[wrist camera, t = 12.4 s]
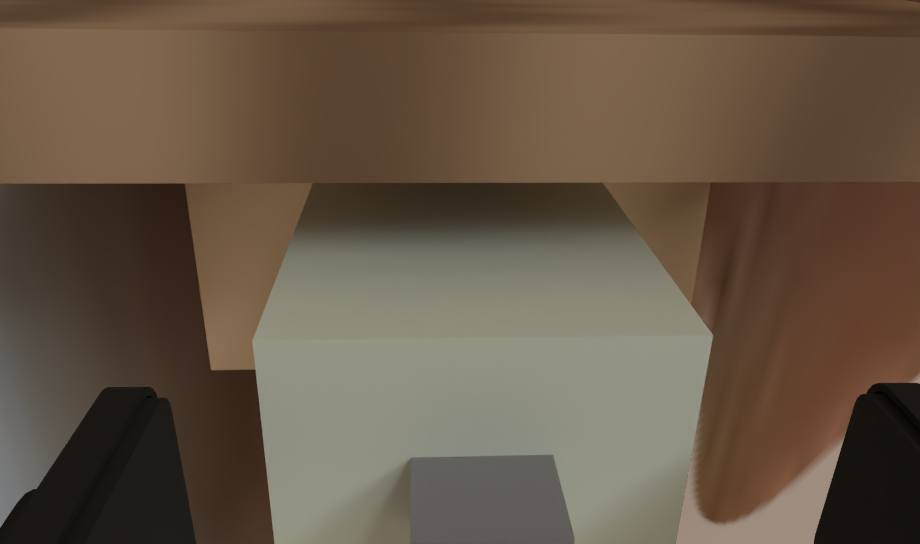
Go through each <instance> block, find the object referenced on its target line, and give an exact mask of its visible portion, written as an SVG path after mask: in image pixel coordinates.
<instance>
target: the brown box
mask: <svg viewBox="0 0 920 544" xmlns="http://www.w3.org/2000/svg"><path fill="white" fill-rule="evenodd" d="M711 182H920V2H914V1H908V0H0V184H103V183H185V189H186V196H187V203H188V210H189V217H190V224H191V231H192V238H193V245H194V252H195V260H196V267H197V274H198V281H199V288H200V295H201V302H202V309H203V316H204V323H205V330H206V338H207V345H208V352H209V359H210V366H211V370H256V369H255V360H254V351H253V342H252V340H253V338H254V335H255V332H256V330H257V327H258V324H259V322H260V319H261V317H262V314H263V311H264V309H265V306H266V304H267V301H268V298H269V296H270V293H271V291H272V288H273V285H274V283H275V280H276V278H277V275H278V272H279V270H280V267H281V265H282V262H283V259H284V257H285V254H286V252H287V249H288V246H289V244H290V241H291V239H292V236H293V233H294V231H295V228H296V226H297V223H298V220H299V218H300V215H301V213H302V210H303V207H304V205H305V202H306V200H307V197H308V194H309V192H310V189H311V186H312V184H313V183H603V184H604V185H605V187H606V188H607V189H608V191H609V192H610V193H611V195H612V196H613V198H614V199H615V200H616V202H617V203H618V205H619V206H620V207H621V209H622V210H623V211H624V213H625V214H626V216H627V217H628V218H629V220H630V221H631V223H632V224H633V225H634V227H635V228H636V229H637V231H638V232H639V234H640V235H641V236H642V238H643V239H644V240H645V242H646V243H647V245H648V246H649V247H650V249H651V250H652V252H653V253H654V254H655V256H656V257H657V258H658V260H659V261H660V263H661V264H662V265H663V267H664V268H665V270H666V271H667V272H668V274H669V275H670V276H671V278H672V279H673V281H674V282H675V283H676V285H677V286H678V288H679V289H680V290H681V292H682V293H683V294H684V296H685V297H686V299H687V300H688V301H689V303H690V304H691V305H692V299H693V293H694V286H695V280H696V274H697V268H698V261H699V255H700V249H701V243H702V237H703V230H704V224H705V218H706V212H707V205H708V199H709V193H710V187H711Z"/></svg>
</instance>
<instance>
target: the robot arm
mask: <svg viewBox="0 0 920 544" xmlns="http://www.w3.org/2000/svg"><path fill="white" fill-rule="evenodd" d="M0 544H196V540H195V535H194V529H193V524H192V518H191V513H190V507H189V502H188V497H187V491H186V486H185V480H184V475H183V470H182V464H181V459H180V453H179V448H178V443H177V437H176V432H175V426H174V421H173V416H172V410H171V406H170V402H169V401H168V399H166V398H157V395H156V393H155V391H154V389H153V388H151V387H108V388H105V389H104V390H103V391H102V392H101V393H100V394H99V396H98V398H97V399H96V401H95V402H94V404H93V405H92V407H91V408H90V410H89V411H88V413H87V414H86V416H85V417H84V419H83V420H82V422H81V423H80V425H79V426H78V428H77V429H76V431H75V432H74V434H73V435H72V437H71V438H70V440H69V441H68V443H67V444H66V446H65V447H64V449H63V450H62V452H61V453H60V455H59V456H58V458H57V459H56V461H55V462H54V464H53V465H52V467H51V468H50V470H49V471H48V473H47V474H46V476H45V477H44V479H43V480H42V482H41V483H40V485H39V486H38V488H37V489H33V490H31V491H29V492H28V493H26V494H25V495H24V496H23V497H22V498H21V499H20V500H19V502H18V503H17V504H16V505H15V507H14V508H13V510H12V511H11V513H10V514H9V516H8V517H7V519H6V520H5V522H4V523H3V525H2V526H1V528H0ZM814 544H920V384H918V383H877V384H874V385H872V386H871V387H870V388H869V390H868V392H867V394H862V395H860V396H859V397H858V398H857V400H856V402H855V405H854V408H853V412H852V415H851V418H850V422H849V425H848V428H847V432H846V435H845V438H844V441H843V445H842V448H841V451H840V455H839V458H838V461H837V465H836V468H835V472H834V475H833V478H832V481H831V485H830V488H829V491H828V494H827V498H826V501H825V504H824V508H823V511H822V515H821V518H820V521H819V524H818V528H817V531H816V534H815V539H814Z"/></svg>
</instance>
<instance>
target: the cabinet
mask: <svg viewBox="0 0 920 544" xmlns="http://www.w3.org/2000/svg"><path fill="white" fill-rule="evenodd" d="M712 339H713V335H712V333H711V332H710V330H709V329H708V328H707V326H706V325H705V323H704V322H703V321H702V319H701V318H700V317H699V315H698V314H697V312H696V311H695V310H694V308H693V307H692V305H691V304H690V303H689V301H688V300H687V299H686V297H685V296H684V294H683V293H682V292H681V290H680V289H679V288H678V286H677V285H676V283H675V282H674V281H673V279H672V278H671V276H670V275H669V274H668V272H667V271H666V270H665V268H664V267H663V265H662V264H661V263H660V261H659V260H658V258H657V257H656V256H655V254H654V253H653V252H652V250H651V249H650V247H649V246H648V245H647V243H646V242H645V240H644V239H643V238H642V236H641V235H640V234H639V232H638V231H637V229H636V228H635V227H634V225H633V224H632V223H631V221H630V220H629V218H628V217H627V216H626V214H625V213H624V211H623V210H622V209H621V207H620V206H619V205H618V203H617V202H616V200H615V199H614V198H613V196H612V195H611V193H610V192H609V191H608V189H607V188H606V187H605V185H604V184H603V183H313V184H312V186H311V189H310V192H309V194H308V197H307V200H306V202H305V205H304V207H303V210H302V213H301V215H300V218H299V220H298V223H297V226H296V228H295V231H294V233H293V236H292V239H291V241H290V244H289V246H288V249H287V252H286V254H285V257H284V259H283V262H282V265H281V267H280V270H279V272H278V275H277V278H276V280H275V283H274V285H273V288H272V291H271V293H270V296H269V298H268V301H267V304H266V306H265V309H264V311H263V314H262V317H261V319H260V322H259V324H258V327H257V330H256V332H255V335H254V338H253V340H252V342H253V351H254V360H255V369H256V378H257V388H258V397H259V406H260V415H261V424H262V434H263V443H264V452H265V461H266V470H267V479H268V489H269V498H270V507H271V516H272V525H273V534H274V544H676V538H677V532H678V527H679V522H680V516H681V510H682V505H683V499H684V493H685V488H686V482H687V477H688V472H689V466H690V461H691V455H692V450H693V444H694V439H695V433H696V427H697V422H698V416H699V411H700V405H701V400H702V394H703V389H704V383H705V378H706V372H707V367H708V361H709V356H710V350H711V344H712Z"/></svg>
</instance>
